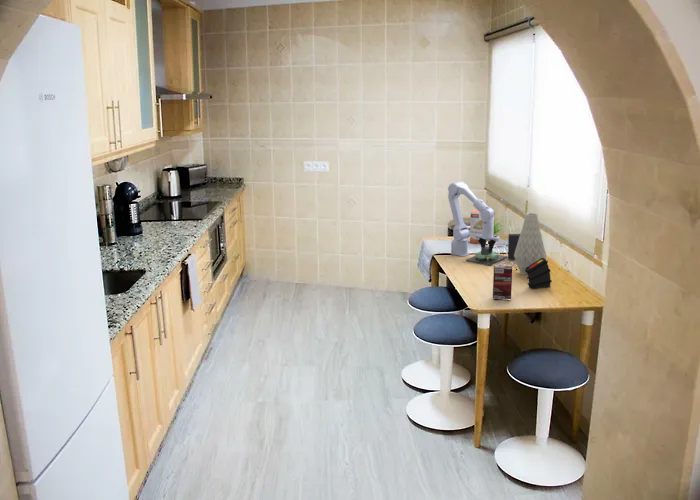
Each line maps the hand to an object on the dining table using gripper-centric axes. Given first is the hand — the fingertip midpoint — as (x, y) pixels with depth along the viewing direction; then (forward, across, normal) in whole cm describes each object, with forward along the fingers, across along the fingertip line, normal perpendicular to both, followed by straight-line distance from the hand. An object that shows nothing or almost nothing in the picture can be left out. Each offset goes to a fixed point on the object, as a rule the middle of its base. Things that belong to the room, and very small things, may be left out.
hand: (487, 251), depth 361 cm
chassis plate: (+5, 0, 0) cm, 5 cm away
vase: (+5, +32, -10) cm, 34 cm away
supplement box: (+5, +40, -54) cm, 67 cm away
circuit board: (+2, 0, 0) cm, 2 cm away
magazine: (+5, +46, -29) cm, 55 cm away
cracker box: (+5, -22, +31) cm, 38 cm away
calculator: (+5, +14, +11) cm, 19 cm away
